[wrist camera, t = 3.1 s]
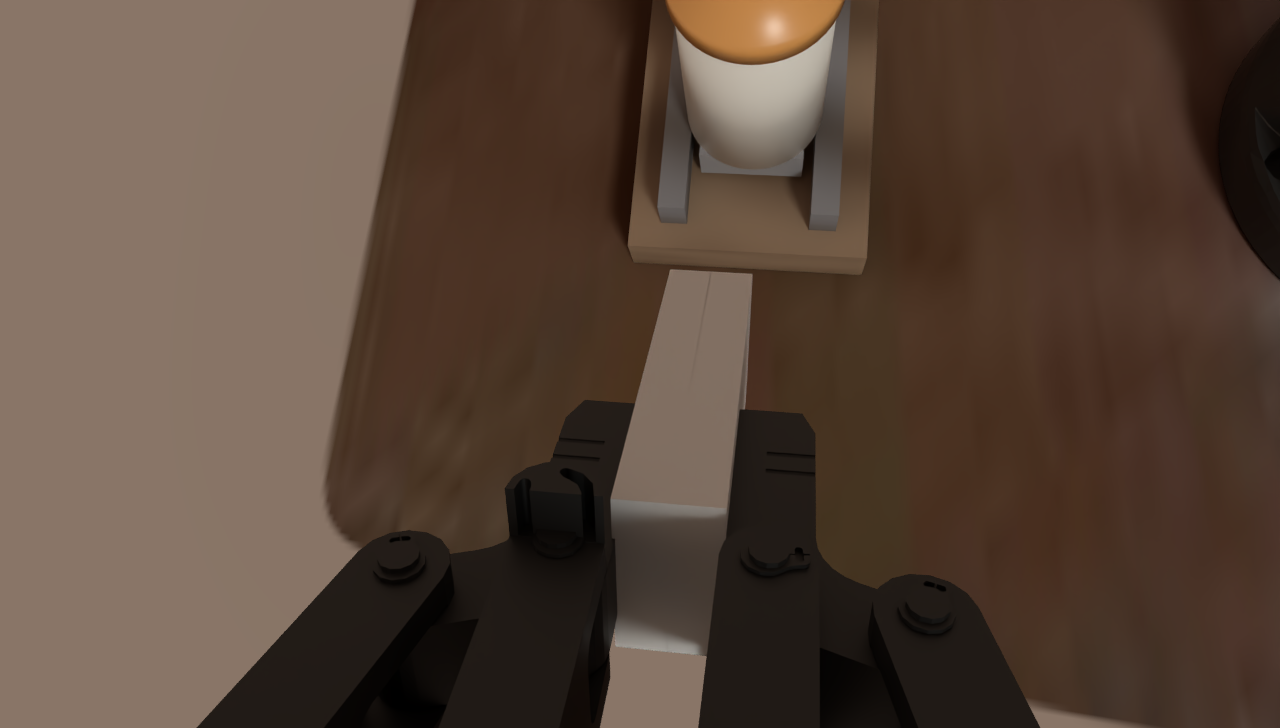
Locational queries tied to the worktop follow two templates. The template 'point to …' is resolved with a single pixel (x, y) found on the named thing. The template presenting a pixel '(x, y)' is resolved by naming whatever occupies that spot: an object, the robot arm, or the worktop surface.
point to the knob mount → (758, 204)
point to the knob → (754, 79)
